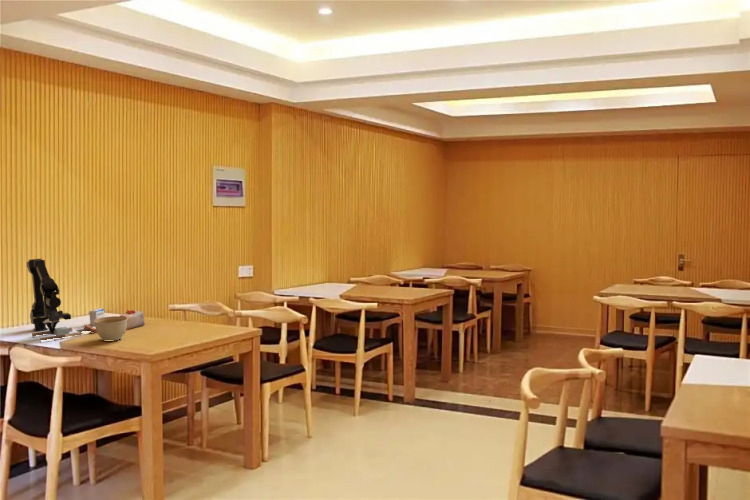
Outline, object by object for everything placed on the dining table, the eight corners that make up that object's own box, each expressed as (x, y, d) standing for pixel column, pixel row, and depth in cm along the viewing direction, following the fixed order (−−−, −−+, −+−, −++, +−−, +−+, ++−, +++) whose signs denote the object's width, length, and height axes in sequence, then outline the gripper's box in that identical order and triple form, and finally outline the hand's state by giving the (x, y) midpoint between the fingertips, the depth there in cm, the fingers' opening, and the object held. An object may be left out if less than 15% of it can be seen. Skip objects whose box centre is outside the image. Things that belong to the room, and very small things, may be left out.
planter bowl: (109, 345, 351) (107, 324, 350) (88, 341, 360) (87, 321, 359) (135, 338, 365) (134, 317, 364) (115, 335, 373) (113, 314, 372)
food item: (126, 330, 383) (125, 313, 382) (116, 329, 387) (115, 311, 386) (146, 325, 394) (145, 308, 393) (136, 324, 399) (135, 307, 397)
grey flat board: (32, 336, 374) (32, 333, 373) (87, 328, 392) (87, 324, 391) (40, 342, 361) (40, 338, 360) (97, 333, 379) (97, 329, 378)
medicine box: (97, 326, 396) (96, 311, 395) (90, 326, 397) (89, 310, 396) (105, 323, 404) (104, 308, 403) (98, 322, 405) (97, 308, 404)
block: (54, 335, 375) (53, 328, 375) (66, 333, 379) (65, 326, 378) (57, 337, 370) (56, 330, 370) (69, 335, 374) (68, 328, 374)
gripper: (34, 310, 358) (37, 340, 360) (73, 304, 370) (75, 333, 372) (29, 307, 367) (31, 336, 368) (66, 302, 378) (69, 330, 380)
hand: (52, 334), depth 372 cm, fingers closed
